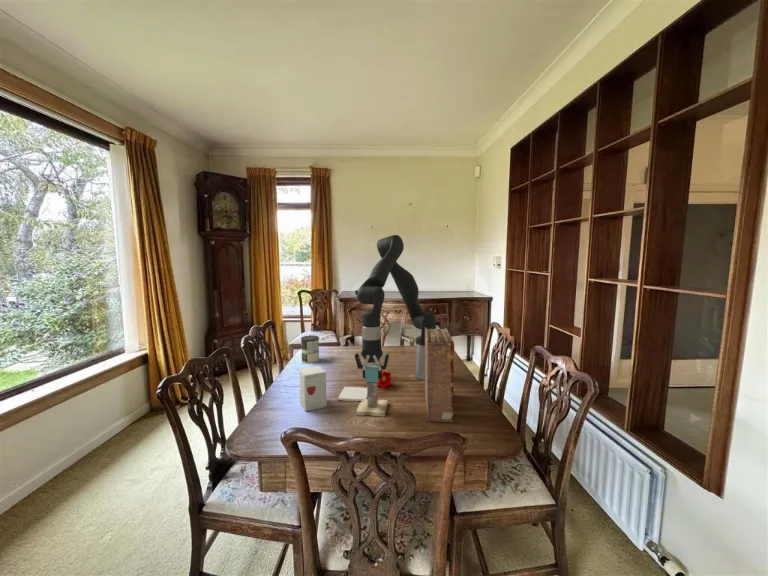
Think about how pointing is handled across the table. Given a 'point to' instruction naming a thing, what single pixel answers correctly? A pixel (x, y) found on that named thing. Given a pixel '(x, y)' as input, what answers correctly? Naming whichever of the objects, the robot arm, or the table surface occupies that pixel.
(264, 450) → the table surface
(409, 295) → the robot arm
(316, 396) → the supplement box
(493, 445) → the table surface
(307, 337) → the coffee can
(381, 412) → the post stand
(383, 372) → the flower
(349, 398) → the pad
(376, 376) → the teal cube block
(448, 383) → the book
